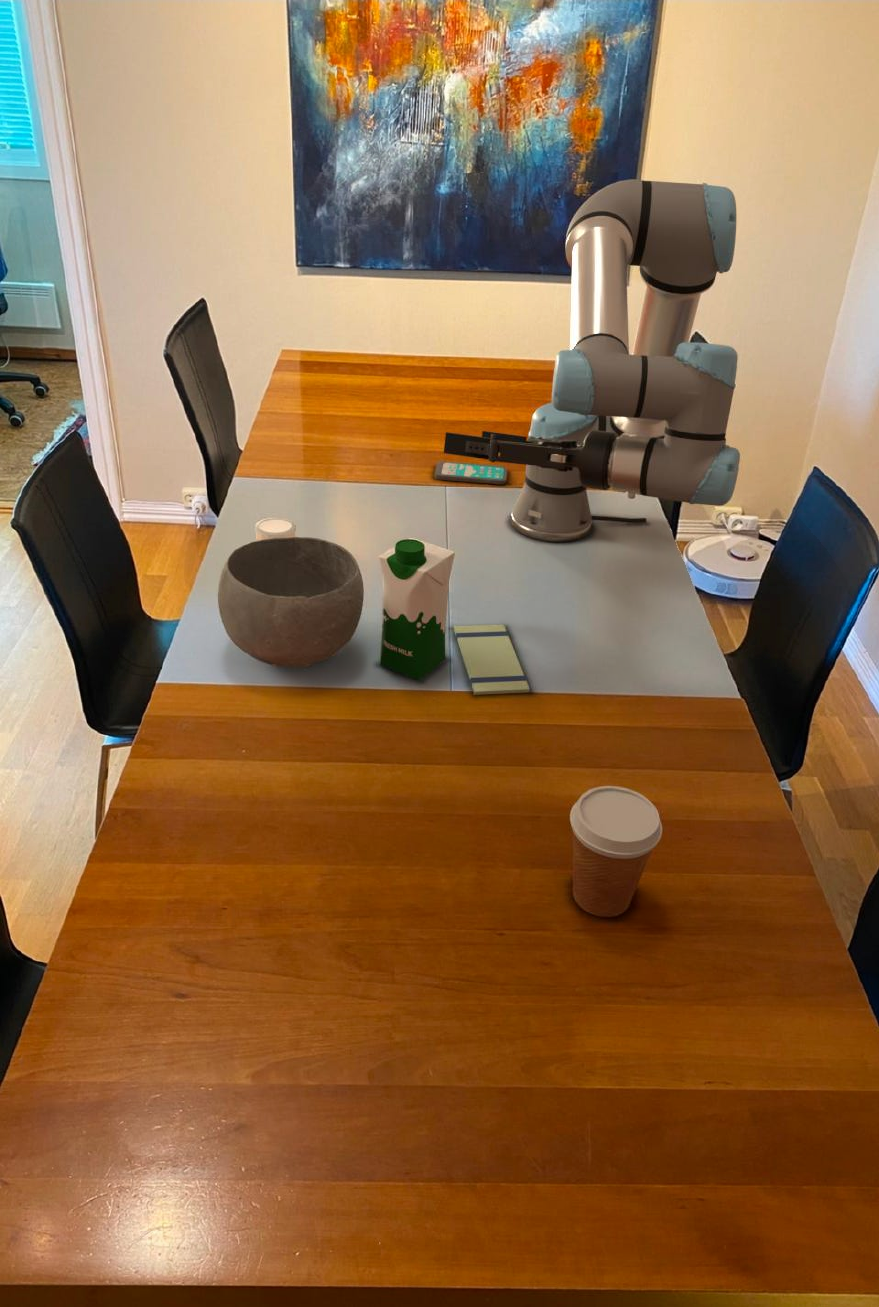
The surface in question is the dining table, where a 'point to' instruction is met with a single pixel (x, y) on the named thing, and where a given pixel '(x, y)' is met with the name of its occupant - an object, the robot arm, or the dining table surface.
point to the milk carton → (414, 606)
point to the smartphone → (471, 472)
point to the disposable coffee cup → (611, 847)
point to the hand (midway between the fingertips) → (464, 441)
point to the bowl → (290, 599)
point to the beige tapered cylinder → (274, 528)
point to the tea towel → (490, 660)
